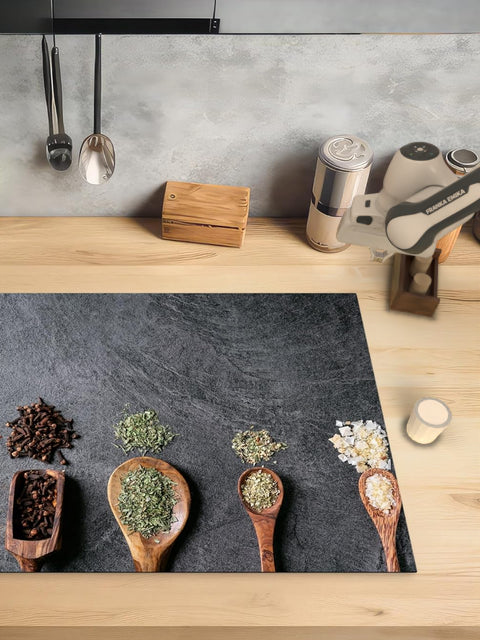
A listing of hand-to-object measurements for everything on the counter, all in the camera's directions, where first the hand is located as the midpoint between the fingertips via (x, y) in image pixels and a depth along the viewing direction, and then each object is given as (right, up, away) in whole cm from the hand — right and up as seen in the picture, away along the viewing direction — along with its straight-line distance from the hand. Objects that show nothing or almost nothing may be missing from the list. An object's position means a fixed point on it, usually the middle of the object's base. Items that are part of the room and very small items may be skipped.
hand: (376, 260), depth 161 cm
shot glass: (+2, -36, -18) cm, 40 cm away
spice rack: (+9, -5, +3) cm, 11 cm away
